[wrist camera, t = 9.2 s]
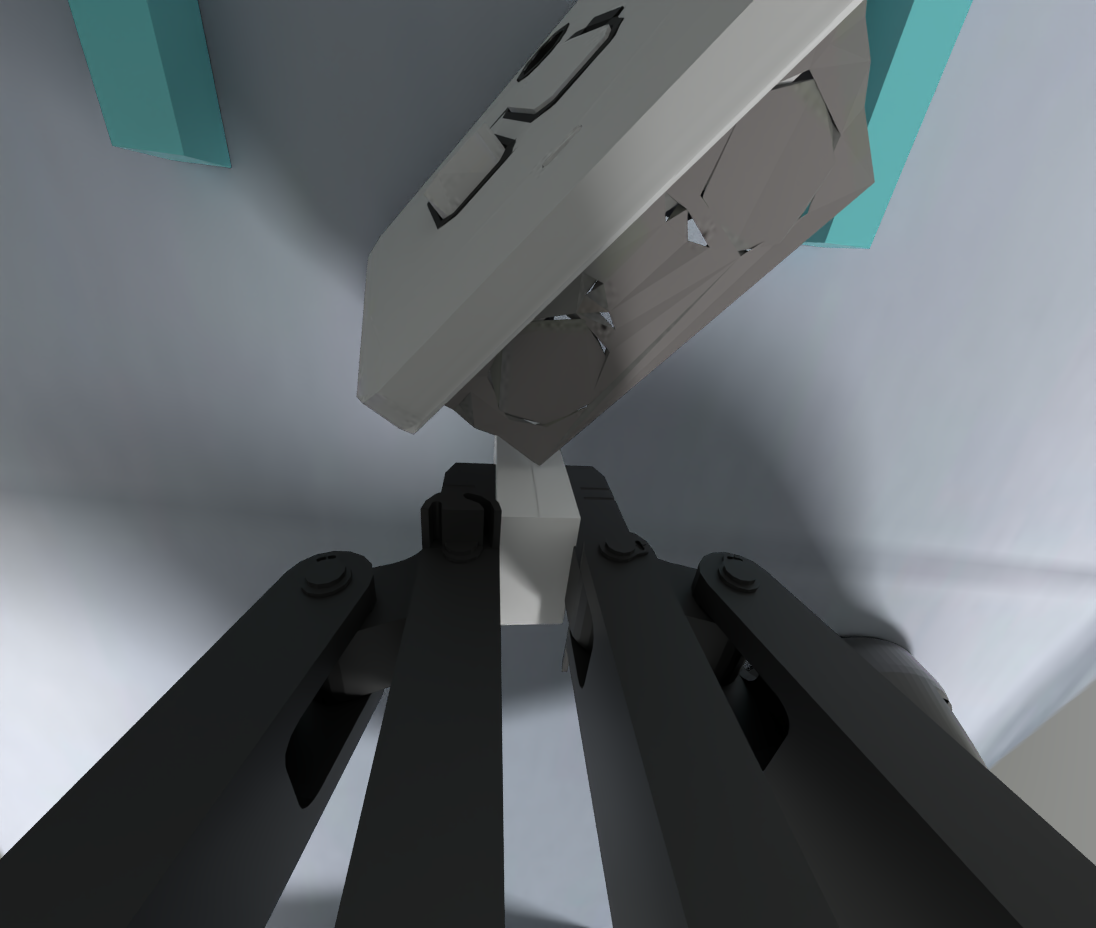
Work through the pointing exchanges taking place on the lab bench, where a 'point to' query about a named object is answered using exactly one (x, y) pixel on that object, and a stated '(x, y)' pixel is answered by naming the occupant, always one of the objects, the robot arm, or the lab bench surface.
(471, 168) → the electrical switch
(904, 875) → the robot arm
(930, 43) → the teal bay
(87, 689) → the lab bench surface
